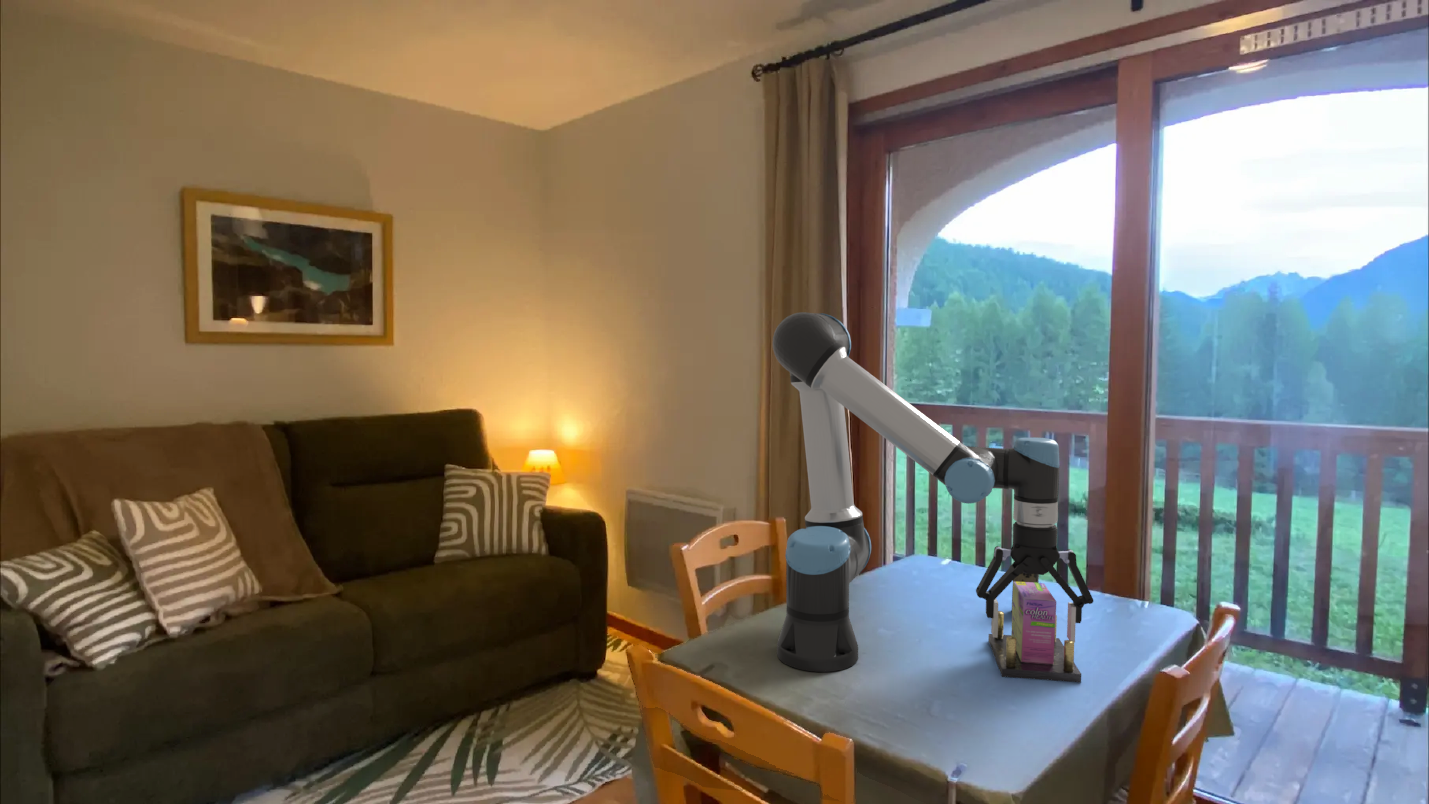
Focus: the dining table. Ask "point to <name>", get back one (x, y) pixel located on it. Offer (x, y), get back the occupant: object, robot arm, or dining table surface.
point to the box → (1033, 622)
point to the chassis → (1016, 669)
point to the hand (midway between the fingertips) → (1032, 637)
